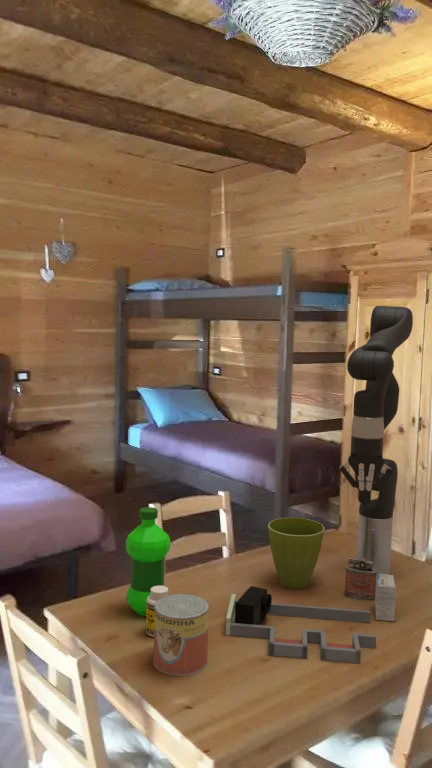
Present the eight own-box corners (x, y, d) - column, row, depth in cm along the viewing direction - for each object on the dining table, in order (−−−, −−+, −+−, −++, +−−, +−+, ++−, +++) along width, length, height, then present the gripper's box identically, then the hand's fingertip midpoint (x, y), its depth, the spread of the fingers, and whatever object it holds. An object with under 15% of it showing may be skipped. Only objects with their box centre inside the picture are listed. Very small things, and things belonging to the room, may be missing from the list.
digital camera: (257, 637, 146) (258, 607, 145) (234, 632, 148) (235, 602, 147) (271, 617, 156) (272, 589, 155) (249, 613, 158) (250, 585, 157)
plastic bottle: (140, 598, 164) (142, 501, 161) (176, 608, 159) (178, 508, 156) (116, 613, 155) (117, 511, 153) (153, 624, 150) (155, 519, 148)
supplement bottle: (142, 636, 145) (142, 591, 144) (151, 624, 150) (152, 582, 149) (165, 640, 143) (166, 595, 142) (174, 629, 149) (175, 585, 147)
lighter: (376, 596, 169) (378, 559, 168) (375, 602, 166) (377, 564, 165) (344, 591, 172) (346, 554, 171) (343, 596, 168) (344, 559, 167)
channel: (231, 609, 159) (231, 593, 159) (369, 620, 155) (370, 604, 155) (221, 650, 139) (222, 632, 139) (379, 665, 136) (380, 646, 135)
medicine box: (394, 622, 155) (396, 587, 154) (375, 620, 156) (377, 585, 155) (392, 608, 163) (394, 574, 162) (374, 606, 164) (375, 572, 163)
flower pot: (293, 600, 165) (296, 539, 164) (254, 581, 177) (256, 523, 175) (333, 586, 175) (336, 528, 173) (293, 568, 186) (295, 514, 184)
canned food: (143, 667, 132) (144, 610, 131) (169, 642, 142) (170, 589, 141) (193, 681, 128) (194, 622, 126) (216, 654, 138) (218, 600, 137)
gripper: (393, 432, 159) (389, 501, 161) (338, 430, 161) (335, 498, 163) (398, 438, 152) (394, 511, 154) (340, 436, 153) (337, 507, 155)
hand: (363, 504), depth 158 cm, fingers closed
